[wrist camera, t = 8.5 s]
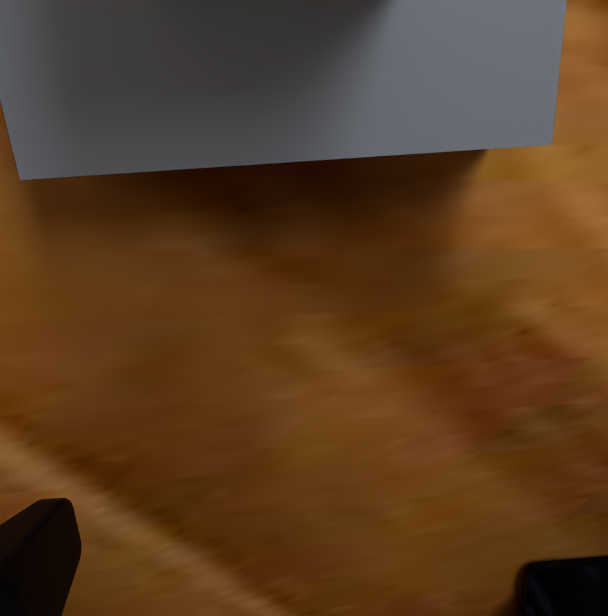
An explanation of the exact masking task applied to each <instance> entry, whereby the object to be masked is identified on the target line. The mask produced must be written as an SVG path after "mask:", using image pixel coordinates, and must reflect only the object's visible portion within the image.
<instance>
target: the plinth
mask: <svg viewBox="0 0 608 616" xmlns="http://www.w3.org/2000/svg"><path fill="white" fill-rule="evenodd" d="M565 10H566V0H0V101H1V105H2V109H3V113H4V117H5V121H6V125H7V129H8V133H9V137H10V141H11V145H12V149H13V153H14V157H15V161H16V165H17V169H18V173H19V177H20V180H30V179H45V178H60V177H75V176H90V175H105V174H120V173H135V172H150V171H165V170H180V169H195V168H210V167H225V166H240V165H255V164H270V163H285V162H300V161H315V160H330V159H345V158H360V157H375V156H390V155H405V154H420V153H435V152H450V151H465V150H480V149H495V148H510V147H525V146H540V145H552V139H553V129H554V119H555V109H556V99H557V89H558V80H559V70H560V60H561V50H562V40H563V30H564V20H565Z"/></svg>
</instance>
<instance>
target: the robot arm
mask: <svg viewBox="0 0 608 616" xmlns="http://www.w3.org/2000/svg"><path fill="white" fill-rule="evenodd" d="M80 556H81V539H80V534H79V530H78V526H77V521H76V517H75V513H74V509H73V505H72V503H71V502H70V500H68V499H66V498H52V499H41V500H38V501H36V502H35V503H33V504H32V505H30V506H29V507H27V508H26V509H24V510H23V511H21V512H20V513H18V514H16V515H15V516H13V517H12V518H10V519H9V520H7V521H6V522H4V523H3V524H1V525H0V616H62V613H63V610H64V607H65V604H66V600H67V597H68V594H69V591H70V588H71V585H72V582H73V579H74V576H75V573H76V569H77V566H78V563H79V560H80ZM517 616H608V556H605V557H592V558H579V559H567V560H554V561H542V562H534V563H531V564H529V565H528V566H527V567H526V568H525V571H524V580H523V588H522V597H521V604H520V605H519V607H518V609H517Z"/></svg>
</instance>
